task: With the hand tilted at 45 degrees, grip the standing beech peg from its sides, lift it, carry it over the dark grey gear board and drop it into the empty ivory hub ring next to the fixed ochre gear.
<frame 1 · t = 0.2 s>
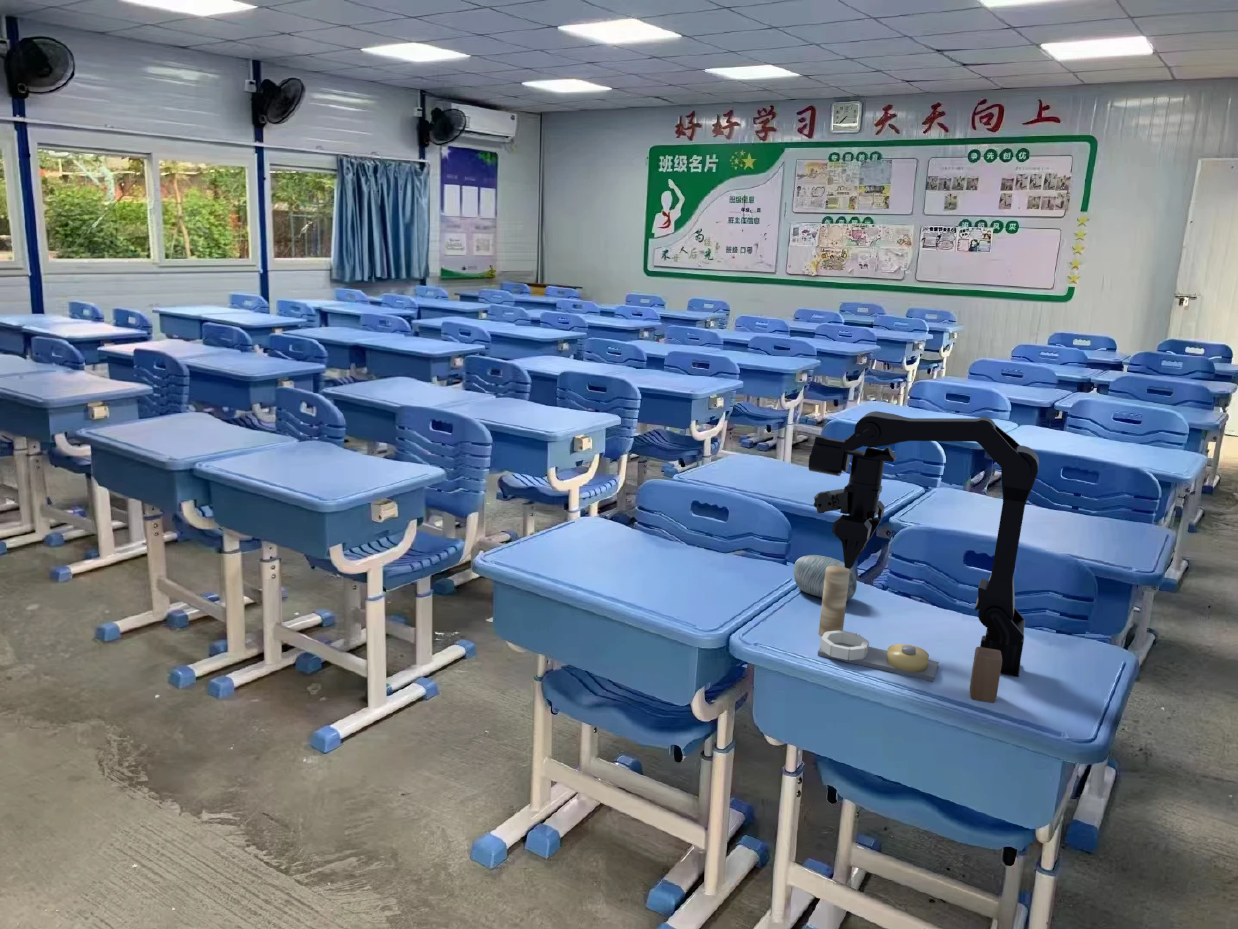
hand: (852, 561, 177), 15 cm above the table, tool pointing down, fingers open, 9 cm apart
peg: (830, 634, 179), on the table
wooden block: (982, 697, 158), on the table
gear board: (877, 660, 169), on the table
grey streaked oval stone: (822, 596, 199), on the table
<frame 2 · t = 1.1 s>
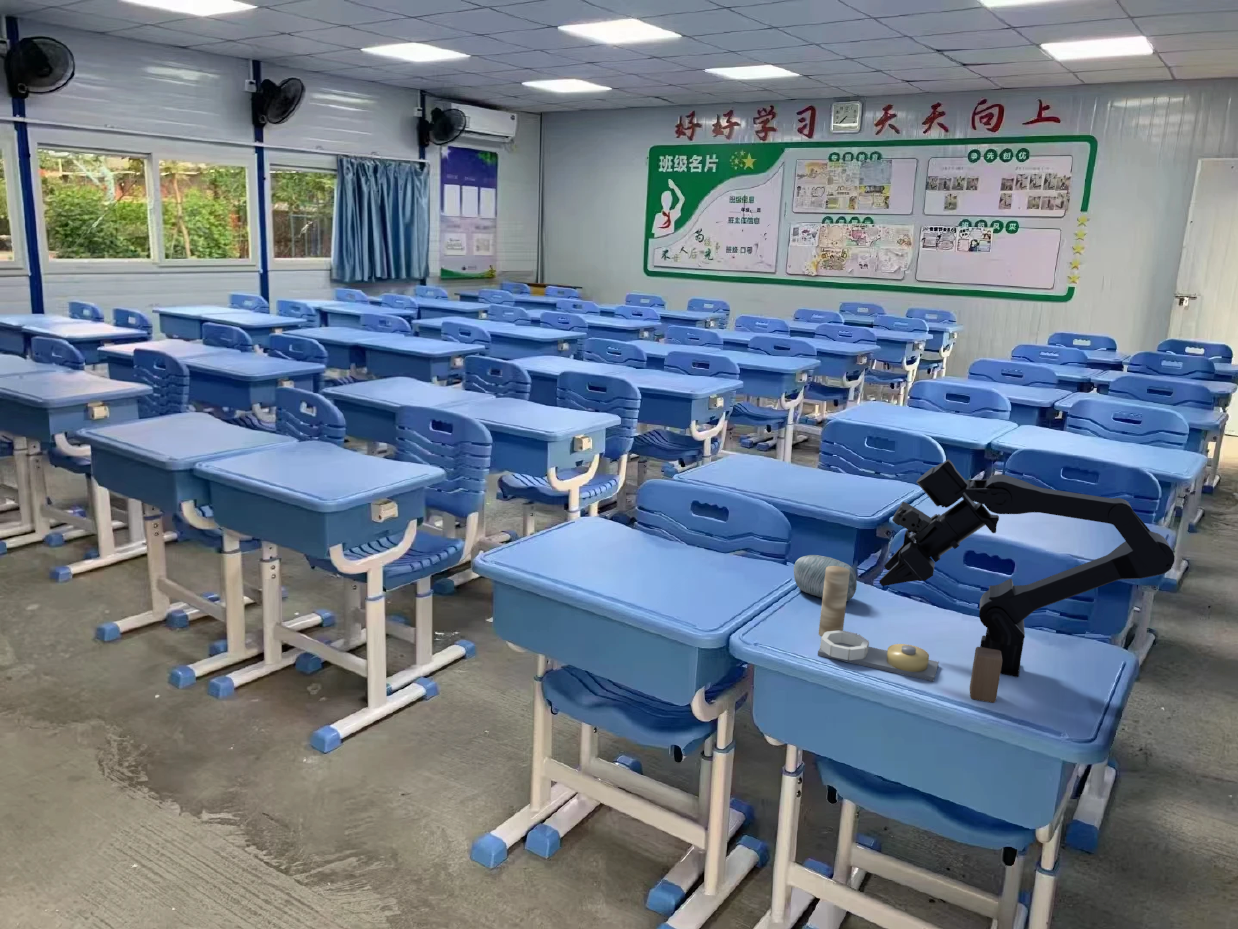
hand: (883, 575, 174), 13 cm above the table, tool tilted 45°, fingers open, 9 cm apart
nothing on the table moved.
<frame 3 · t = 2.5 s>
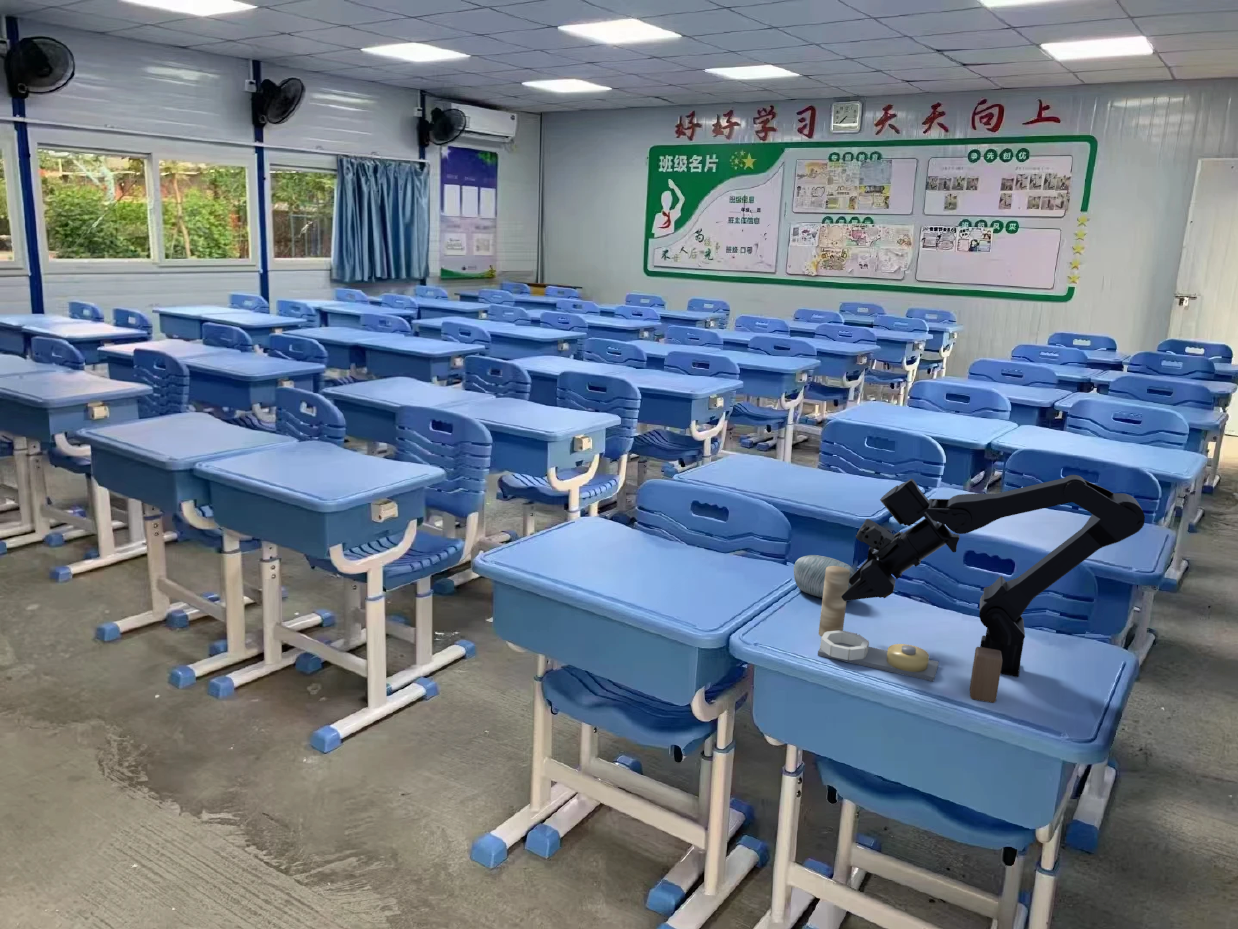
hand: (846, 590, 176), 9 cm above the table, tool tilted 45°, fingers open, 9 cm apart
nothing on the table moved.
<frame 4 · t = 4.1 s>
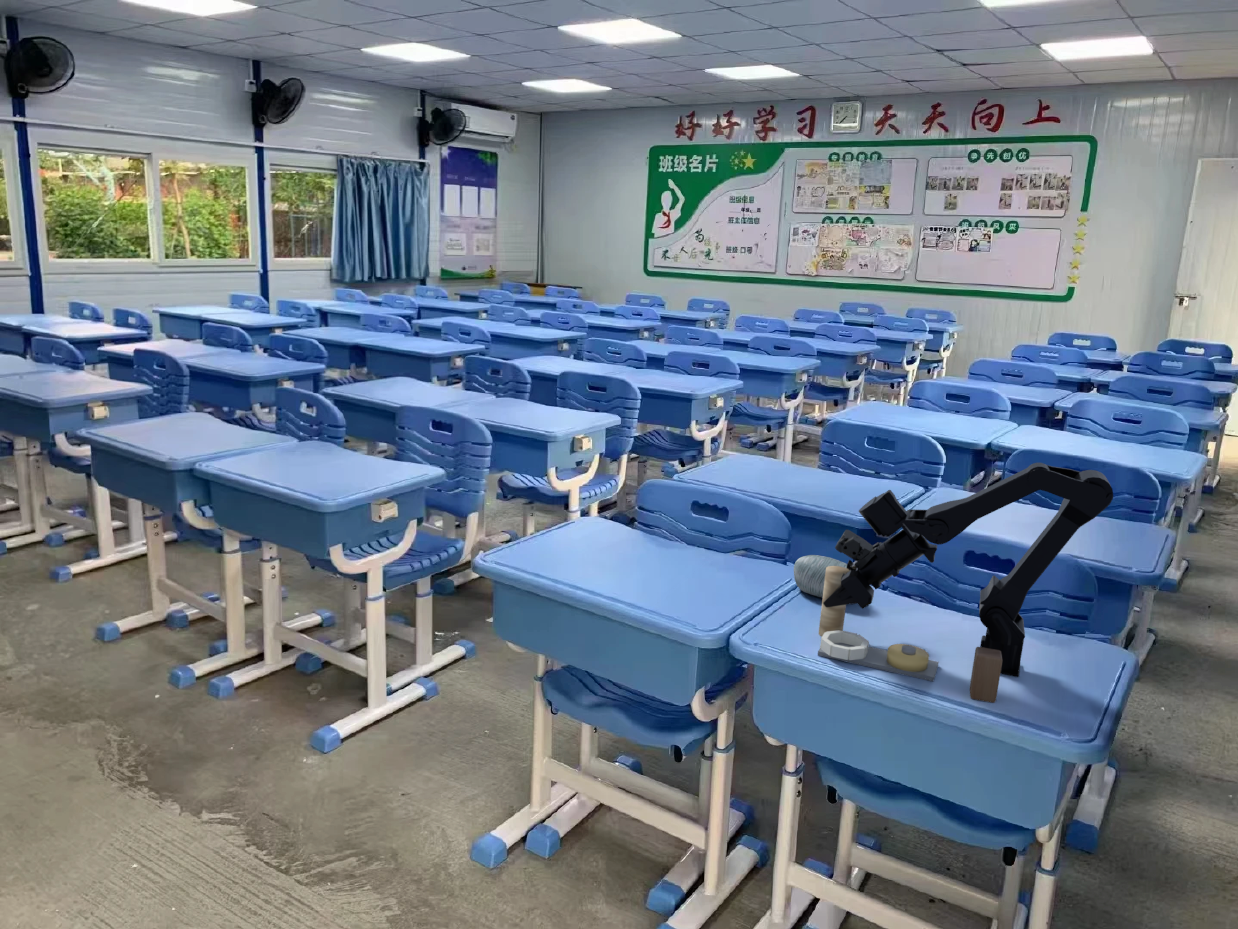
hand: (826, 600, 178), 7 cm above the table, tool tilted 45°, fingers closed on peg, 4 cm apart
peg: (830, 634, 179), on the table, touching gripper
everything else where it was.
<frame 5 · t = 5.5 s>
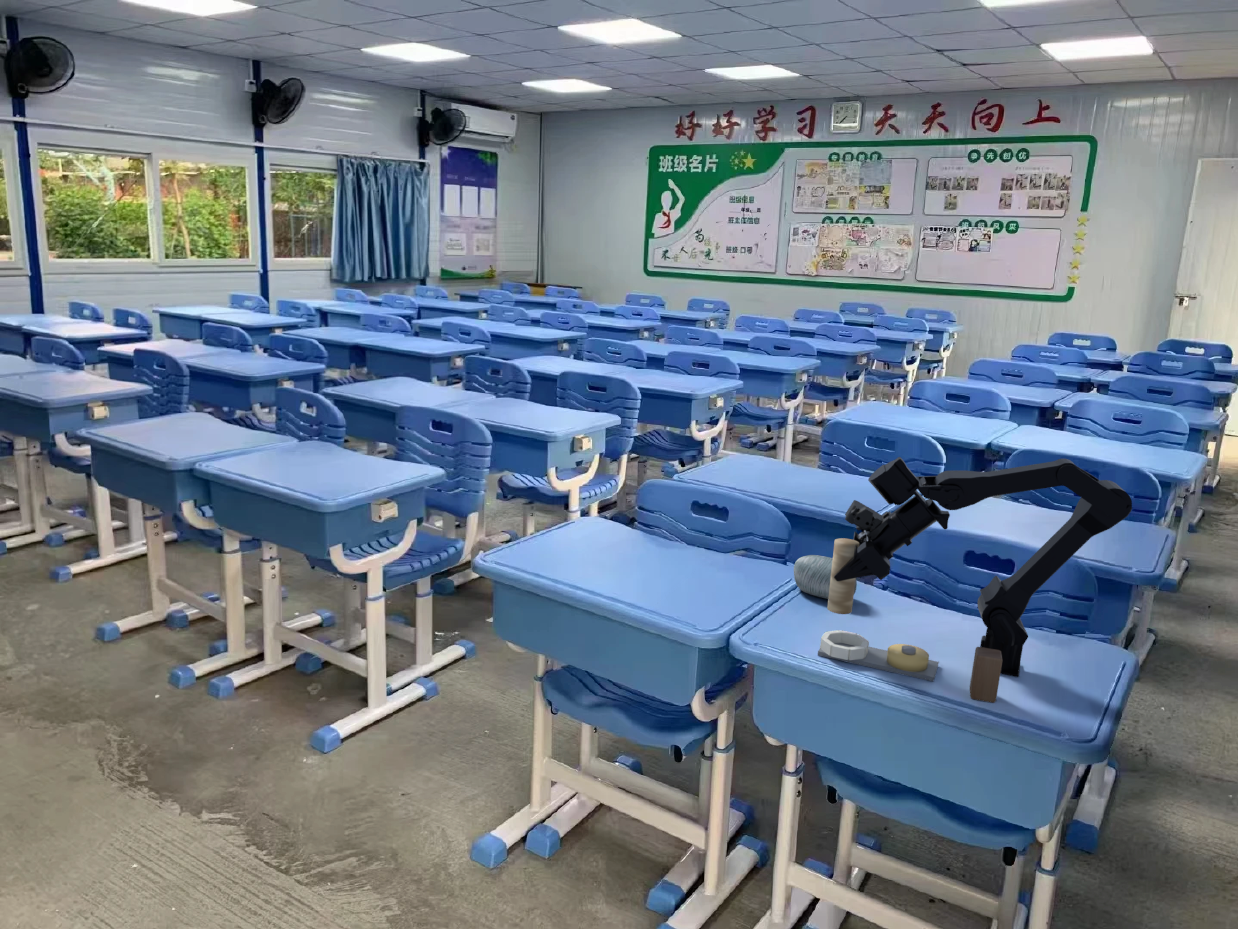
hand: (835, 574, 172), 13 cm above the table, tool tilted 45°, fingers closed on peg, 4 cm apart
peg: (839, 609, 174), point 7 cm above the table, touching gripper
everything else where it was.
when the fingers open (10 cm above the table, at t = 6.9 s): peg drops 3 cm, resting on gear board.
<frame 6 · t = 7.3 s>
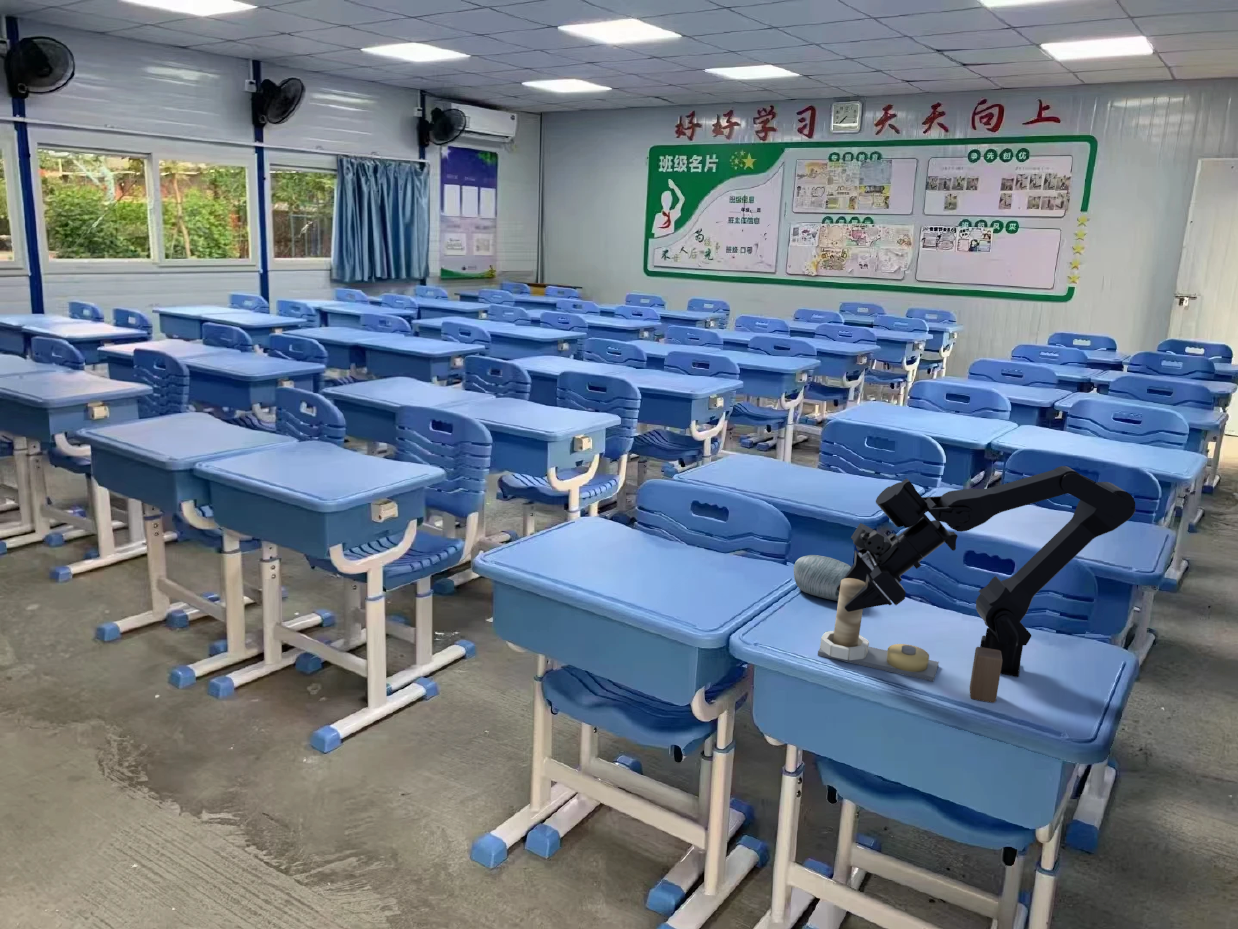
hand: (841, 599, 169), 10 cm above the table, tool tilted 45°, fingers open, 9 cm apart
peg: (844, 649, 171), point 1 cm above the table, touching gear board
everything else where it was.
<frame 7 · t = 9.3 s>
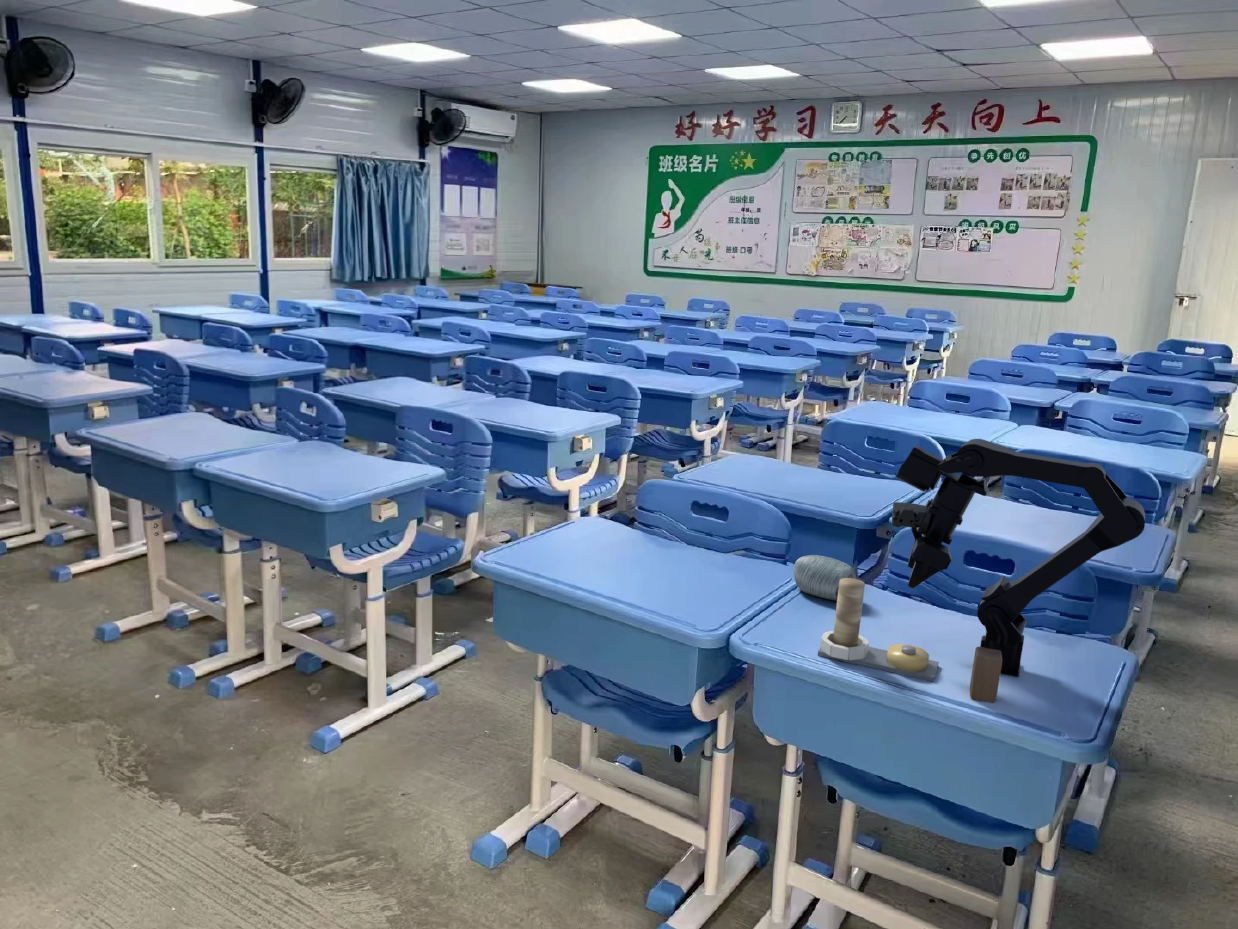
hand: (910, 577, 174), 13 cm above the table, tool tilted 20°, fingers open, 9 cm apart
nothing on the table moved.
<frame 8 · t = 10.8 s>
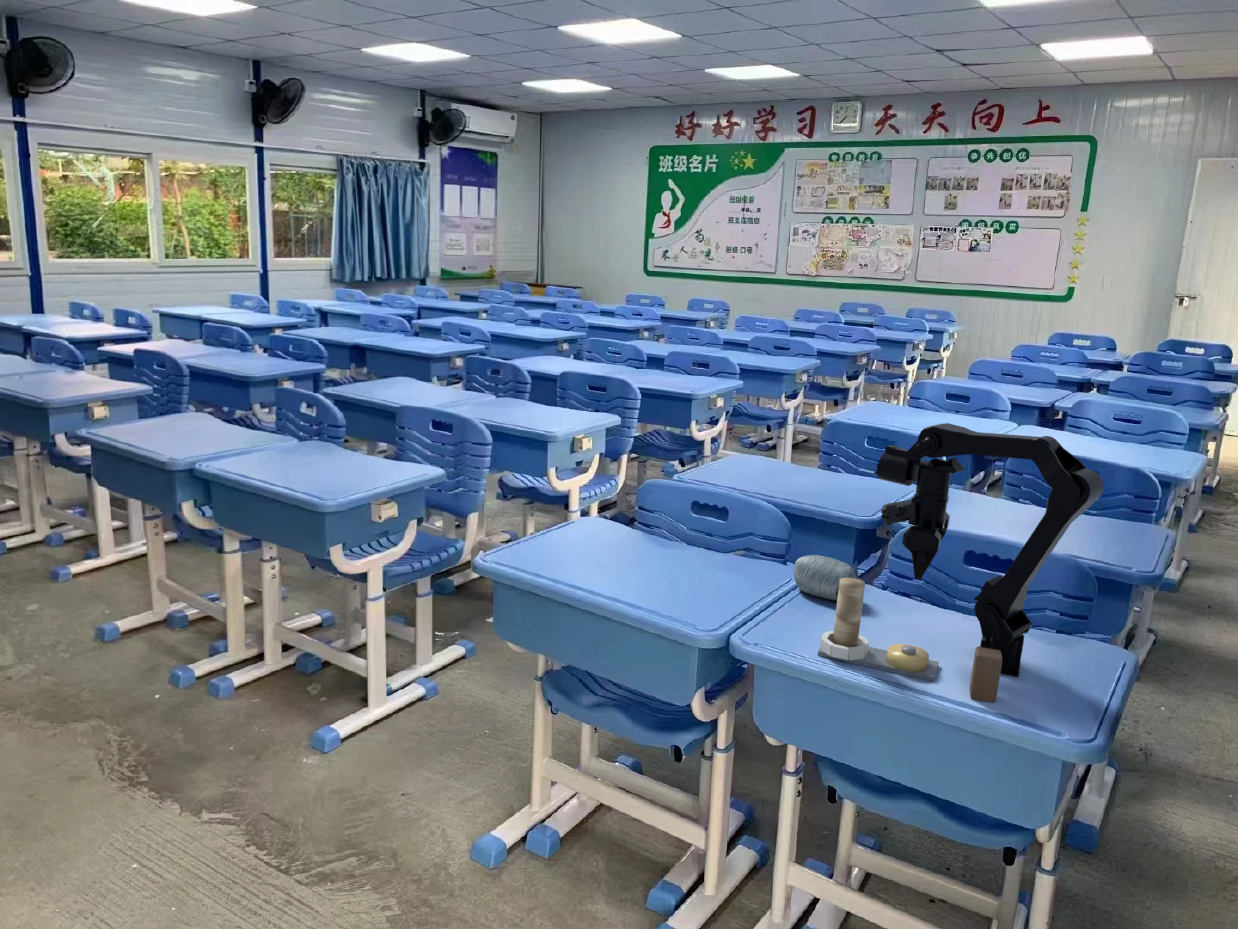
hand: (921, 571, 178), 13 cm above the table, tool pointing down, fingers open, 9 cm apart
nothing on the table moved.
at the end: peg 0.1 cm from the target spot, point 0.8 cm above the table; peg tilted 1°; the gripper is holding nothing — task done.
